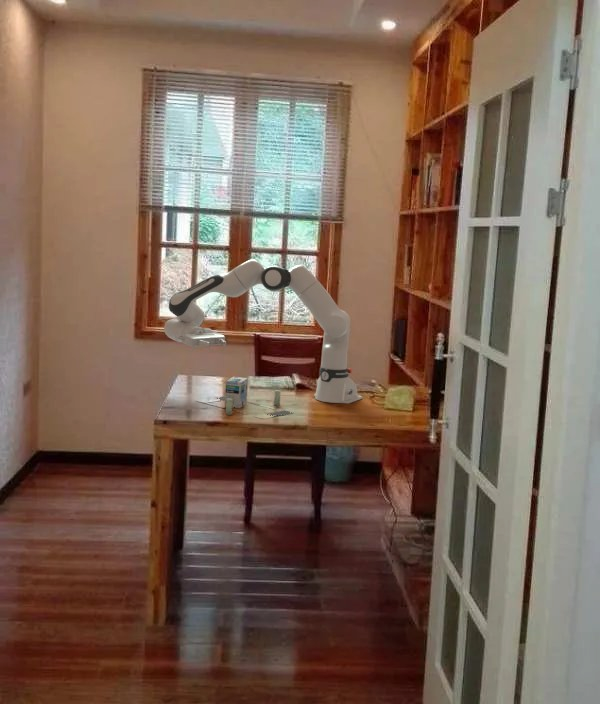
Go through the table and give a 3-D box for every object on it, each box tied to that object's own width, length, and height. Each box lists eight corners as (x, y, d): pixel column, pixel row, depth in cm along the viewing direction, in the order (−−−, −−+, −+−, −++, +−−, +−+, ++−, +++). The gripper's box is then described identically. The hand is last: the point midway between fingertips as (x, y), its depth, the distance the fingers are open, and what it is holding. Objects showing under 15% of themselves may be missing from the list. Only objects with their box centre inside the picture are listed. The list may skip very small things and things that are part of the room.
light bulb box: (240, 408, 318) (241, 382, 317) (224, 406, 320) (225, 380, 318) (247, 403, 329) (248, 377, 327) (231, 401, 330) (232, 376, 328)
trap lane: (237, 394, 344) (238, 380, 344) (303, 410, 321) (304, 396, 320) (184, 403, 321) (185, 388, 320) (252, 421, 298) (252, 406, 297)
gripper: (176, 329, 326) (200, 337, 318) (211, 328, 343) (234, 335, 334) (174, 344, 328) (197, 353, 320) (209, 342, 344) (232, 350, 336)
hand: (217, 344), depth 327 cm, fingers open, 8 cm apart
